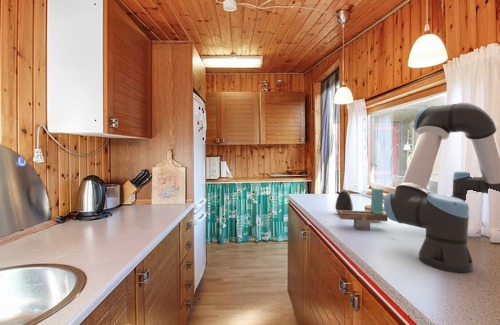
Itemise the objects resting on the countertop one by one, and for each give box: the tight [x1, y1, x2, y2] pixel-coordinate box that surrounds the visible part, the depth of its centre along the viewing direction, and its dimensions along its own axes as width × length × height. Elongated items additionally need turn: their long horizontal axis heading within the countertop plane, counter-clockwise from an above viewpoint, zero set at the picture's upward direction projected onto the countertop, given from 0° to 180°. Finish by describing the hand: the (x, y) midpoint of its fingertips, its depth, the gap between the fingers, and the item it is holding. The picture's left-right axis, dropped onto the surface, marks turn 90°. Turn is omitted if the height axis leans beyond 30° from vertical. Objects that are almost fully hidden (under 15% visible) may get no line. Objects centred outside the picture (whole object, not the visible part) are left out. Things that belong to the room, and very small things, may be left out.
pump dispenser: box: [334, 189, 354, 214], centre depth 162 cm, size 10×10×15 cm
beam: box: [337, 210, 389, 231], centre depth 133 cm, size 7×22×8 cm, turn 84°
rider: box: [370, 187, 384, 214], centre depth 132 cm, size 6×4×15 cm, turn 174°
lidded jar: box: [364, 204, 386, 223], centre depth 149 cm, size 11×11×9 cm
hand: (389, 200), depth 132 cm, fingers closed
